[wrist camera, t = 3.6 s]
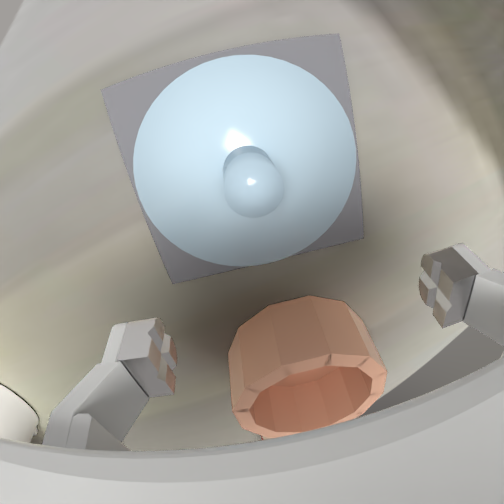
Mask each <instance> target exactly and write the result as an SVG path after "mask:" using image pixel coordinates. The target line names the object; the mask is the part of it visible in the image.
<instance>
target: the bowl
mask: <svg viewBox="0 0 504 504" xmlns="http://www.w3.org/2000/svg"><path fill="white" fill-rule="evenodd" d="M228 360H229V374H230V388H231V402H232V411H233V413H234V415H235V417H236V418H237V420H238V422H239V423H240V425H241V427H242V428H243V429H245V430H248V431H250V432H253V433H256V434H259V435H261V436H264V437H267V438H277V437H282V436H287V435H292V434H297V433H301V432H306V431H310V430H314V429H318V428H322V427H326V426H330V425H334V424H338V423H341V422H345V421H348V420H352V419H354V418H356V417H358V416H359V415H361V414H363V413H364V412H365V411H366V410H367V409H368V408H369V407H370V406H371V405H372V404H373V403H374V402H375V401H376V400H377V399H378V398H379V397H380V396H381V395H382V394H383V391H384V386H385V381H386V376H387V370H386V368H385V366H384V363H383V361H382V359H381V357H380V355H379V353H378V351H377V349H376V347H375V345H374V343H373V341H372V339H371V337H370V335H369V333H368V331H367V329H366V327H365V325H364V323H363V321H362V319H361V318H360V317H359V316H358V315H357V314H356V313H355V312H354V311H353V310H352V309H351V308H350V307H349V306H348V305H347V304H346V303H345V302H344V301H338V300H333V299H327V298H321V297H316V296H310V295H309V296H305V297H301V298H297V299H293V300H289V301H285V302H281V303H276V304H272V305H268V306H267V307H266V308H264V309H263V310H262V311H260V312H259V313H258V314H256V315H255V316H254V317H252V318H251V319H249V320H248V321H247V322H245V323H244V324H243V325H241V326H240V327H238V330H237V332H236V335H235V337H234V340H233V342H232V345H231V347H230V349H229V352H228Z"/></svg>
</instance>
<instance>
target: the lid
mask: <svg viewBox="0 0 504 504" xmlns="http://www.w3.org/2000/svg"><path fill="white" fill-rule="evenodd" d="M355 170H356V145H355V140H354V135H353V131H352V128H351V125H350V122H349V119H348V117H347V115H346V113H345V111H344V109H343V107H342V106H341V104H340V103H339V101H338V100H337V99H336V97H335V96H334V94H333V93H332V92H331V91H330V90H329V89H328V88H327V87H326V86H325V85H324V84H323V83H322V82H321V81H319V80H318V79H317V78H316V77H315V76H313V75H312V74H310V73H309V72H307V71H305V70H304V69H302V68H300V67H298V66H296V65H294V64H291V63H289V62H287V61H284V60H280V59H277V58H273V57H269V56H260V55H233V56H227V57H221V58H218V59H214V60H211V61H208V62H205V63H203V64H200V65H198V66H196V67H194V68H192V69H190V70H188V71H187V72H185V73H184V74H182V75H181V76H179V77H178V78H176V79H175V80H174V81H173V82H172V83H170V84H169V85H168V86H167V87H166V88H165V89H164V90H163V91H162V92H161V93H160V95H159V96H158V97H157V98H156V99H155V101H154V102H153V103H152V105H151V106H150V108H149V110H148V111H147V113H146V115H145V117H144V119H143V121H142V123H141V126H140V128H139V131H138V134H137V138H136V142H135V148H134V156H133V173H134V179H135V185H136V189H137V192H138V196H139V199H140V201H141V203H142V205H143V208H144V210H145V212H146V213H147V215H148V217H149V218H150V220H151V221H152V223H153V224H154V225H155V226H156V228H157V229H158V230H159V231H160V232H161V233H162V234H163V235H164V236H165V237H166V238H167V239H168V240H169V241H170V242H172V243H173V244H174V245H176V246H177V247H179V248H180V249H181V250H183V251H185V252H187V253H189V254H191V255H192V256H195V257H197V258H200V259H202V260H205V261H208V262H212V263H216V264H221V265H228V266H257V265H262V264H268V263H272V262H275V261H278V260H282V259H284V258H287V257H289V256H291V255H294V254H296V253H297V252H299V251H301V250H303V249H304V248H306V247H307V246H309V245H310V244H312V243H313V242H314V241H316V240H317V239H318V238H319V237H320V236H321V235H322V234H324V233H325V232H326V231H327V229H328V228H329V227H330V226H331V225H332V224H333V223H334V221H335V220H336V218H337V217H338V215H339V214H340V213H341V211H342V209H343V207H344V205H345V203H346V201H347V199H348V197H349V194H350V191H351V189H352V186H353V181H354V177H355Z"/></svg>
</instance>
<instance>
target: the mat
mask: <svg viewBox="0 0 504 504" xmlns="http://www.w3.org/2000/svg"><path fill="white" fill-rule="evenodd" d="M233 55H260V56H269V57H273V58H277V59H280V60H284V61H287V62H289V63H291V64H294V65H296V66H298V67H300V68H302V69H304V70H305V71H307V72H309V73H310V74H312V75H313V76H315V77H316V78H317V79H318V80H319V81H321V82H322V83H323V84H324V85H325V86H326V87H327V88H328V89H329V90H330V91H331V92H332V93H333V94H334V96H335V97H336V99H337V100H338V101H339V103H340V104H341V106H342V107H343V109H344V111H345V113H346V115H347V117H348V119H349V122H350V125H351V128H352V131H353V135H354V140H355V145H356V170H355V177H354V181H353V186H352V189H351V191H350V194H349V197H348V199H347V201H346V203H345V205H344V207H343V209H342V211H341V213H340V214H339V215H338V217H337V218H336V220H335V221H334V223H333V224H332V225H331V226H330V227H329V228H328V229H327V231H326V232H325V233H324V234H322V235H321V236H320V237H319V238H318V239H317V240H316V241H314V242H313V243H312V244H310V245H309V246H307V247H306V248H304V249H303V250H301V251H299V252H297V253H296V254H294V255H298V254H302V253H306V252H310V251H314V250H318V249H322V248H326V247H330V246H335V245H339V244H343V243H347V242H351V241H355V240H359V239H363V238H364V232H363V211H362V195H361V182H360V170H359V159H358V150H357V141H356V132H355V124H354V117H353V109H352V102H351V96H350V89H349V83H348V77H347V72H346V66H345V61H344V55H343V50H342V45H341V40H340V36H339V34H327V35H315V36H306V37H297V38H289V39H282V40H275V41H269V42H263V43H257V44H252V45H246V46H241V47H237V48H232V49H227V50H223V51H219V52H214V53H210V54H206V55H202V56H199V57H195V58H191V59H188V60H184V61H181V62H177V63H174V64H171V65H167V66H164V67H161V68H158V69H155V70H152V71H149V72H146V73H143V74H140V75H138V76H135V77H132V78H129V79H127V80H124V81H122V82H119V83H117V84H114V85H112V86H109V87H107V88H104V89H102V90H101V92H102V96H103V99H104V102H105V106H106V109H107V112H108V115H109V119H110V122H111V125H112V128H113V131H114V134H115V137H116V140H117V143H118V146H119V149H120V152H121V155H122V158H123V161H124V164H125V166H126V169H127V172H128V175H129V178H130V180H131V183H132V186H133V188H134V191H135V194H136V196H137V199H138V202H139V204H140V207H141V209H142V212H143V215H144V217H145V220H146V222H147V225H148V227H149V230H150V232H151V235H152V237H153V240H154V242H155V244H156V247H157V249H158V252H159V254H160V256H161V259H162V261H163V263H164V266H165V268H166V270H167V273H168V275H169V277H170V279H171V282H172V284H176V283H180V282H184V281H189V280H193V279H197V278H202V277H206V276H210V275H214V274H219V273H223V272H227V271H231V270H235V269H240V268H244V267H248V266H228V265H221V264H216V263H212V262H208V261H205V260H202V259H200V258H197V257H195V256H192V255H191V254H189V253H187V252H185V251H183V250H181V249H180V248H179V247H177V246H176V245H174V244H173V243H172V242H170V241H169V240H168V239H167V238H166V237H165V236H164V235H163V234H162V233H161V232H160V231H159V230H158V229H157V228H156V226H155V225H154V224H153V223H152V221H151V220H150V218H149V217H148V215H147V213H146V212H145V210H144V208H143V205H142V203H141V201H140V199H139V196H138V192H137V189H136V185H135V179H134V173H133V156H134V148H135V142H136V138H137V134H138V131H139V128H140V126H141V123H142V121H143V119H144V117H145V115H146V113H147V111H148V110H149V108H150V106H151V105H152V103H153V102H154V101H155V99H156V98H157V97H158V96H159V95H160V93H161V92H162V91H163V90H164V89H165V88H166V87H167V86H168V85H169V84H170V83H172V82H173V81H174V80H175V79H176V78H178V77H179V76H181V75H182V74H184V73H185V72H187V71H188V70H190V69H192V68H194V67H196V66H198V65H200V64H203V63H205V62H208V61H211V60H214V59H218V58H221V57H227V56H233ZM294 255H291V256H294ZM289 257H290V256H289Z"/></svg>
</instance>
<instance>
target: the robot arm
mask: <svg viewBox="0 0 504 504" xmlns="http://www.w3.org/2000/svg"><path fill="white" fill-rule="evenodd" d="M421 267H422V268H423V270H424V271H423V273H422V274H421V276H420V277H419V291H420V295H421V297H422V300H423V301H424V303H425V304H426V305H427V306H429V307H432V308H433V316H434V317H435V318H436V320H437V321H438V323H439V324H440V326H441V327H442V328H445V327H447V326H450V325H453V324H456V323H458V322H461V321H463V320H464V321H463V322H464V323H466V324H468V325H469V326H471V327H473V328H474V329H476V330H478V331H479V332H481V333H482V334H484V335H486V336H487V337H489V338H491V339H493V340H494V341H495V342H497V343H499V344H500V345H502V346H504V272H503V271H500V270H497V269H490V268H489V267H488V266H487V265H486V264H485V263H484V262H483V261H482V260H481V259H480V258H479V257H478V256H477V255H476V254H475V253H474V252H472V251H471V250H470V249H469V248H468V247H467V246H466V245H465V244H463V243H459V244H456V245H453V246H450V247H448V248H444V249H441V250H438V251H434V252H431V253H428V254H424V255H423V257H422V260H421ZM164 331H165V325H164V323H163V322H162V320H161V318H158V317H156V318H150V319H144V320H137V321H131V322H126V323H119V324H115V325H114V326H113V327H112V329H111V332H110V335H109V339H108V342H107V345H106V348H105V351H104V355H103V358H102V362H101V363H99V364H96V365H95V366H94V367H93V368H92V369H91V371H90V372H89V373H88V374H87V375H86V376H85V377H84V378H83V379H82V380H81V381H80V382H79V383H78V384H77V385H76V386H75V387H74V388H73V389H72V390H71V391H70V392H69V394H68V395H67V396H66V397H65V398H64V399H63V400H62V401H61V402H60V403H59V404H58V405H57V406H56V407H55V408H54V410H53V411H52V412H51V415H50V418H49V422H48V425H47V429H46V432H45V436H44V439H43V443H42V445H40V444H33V443H30V441H31V439H32V436H36V435H37V432H38V430H37V427H36V426H37V424H38V422H39V419H38V417H37V415H36V413H35V412H34V411H33V409H32V408H31V407H30V406H29V405H28V404H27V403H26V402H24V401H23V400H22V399H21V398H20V397H18V396H17V395H16V394H14V393H13V392H12V391H10V390H9V389H7V388H6V387H4V386H2V385H1V384H0V504H504V351H503V354H502V356H501V357H500V359H498V360H496V361H494V362H492V363H491V364H489V365H487V366H485V367H483V368H481V369H479V370H477V371H475V372H473V373H471V374H469V375H467V376H465V377H463V378H461V379H459V380H456V381H454V382H452V383H450V384H448V385H445V386H443V387H441V388H439V389H436V390H434V391H432V392H429V393H427V394H424V395H422V396H419V397H417V398H414V399H412V400H409V401H406V402H404V403H401V404H398V405H395V406H392V407H390V408H387V409H384V410H381V411H378V412H375V413H372V414H369V415H365V416H362V417H359V418H355V419H352V420H348V421H345V422H341V423H338V424H334V425H330V426H326V427H322V428H318V429H314V430H310V431H306V432H301V433H297V434H292V435H287V436H282V437H277V438H271V439H266V440H260V441H254V442H247V443H240V444H233V445H225V446H216V447H207V448H195V449H182V450H162V451H131V450H130V449H129V448H127V447H126V446H125V445H124V444H123V443H121V442H122V441H123V439H124V437H125V436H126V434H127V433H128V431H129V430H130V428H131V427H132V425H133V424H134V422H135V420H136V419H137V417H138V416H139V414H140V413H141V411H142V410H143V408H144V407H145V405H146V404H147V402H148V400H149V398H150V397H158V396H165V395H173V394H174V391H175V379H176V376H175V375H174V373H173V372H172V370H173V369H174V368H175V367H176V366H177V352H176V347H175V344H174V342H173V340H172V338H171V336H169V335H167V334H166V333H164Z"/></svg>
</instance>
